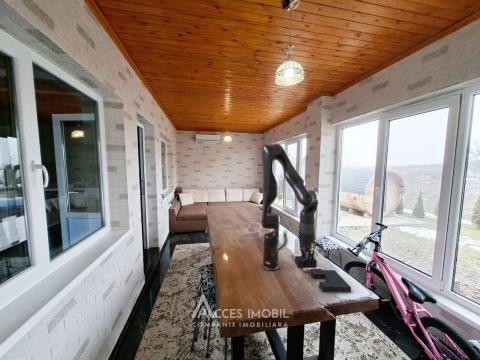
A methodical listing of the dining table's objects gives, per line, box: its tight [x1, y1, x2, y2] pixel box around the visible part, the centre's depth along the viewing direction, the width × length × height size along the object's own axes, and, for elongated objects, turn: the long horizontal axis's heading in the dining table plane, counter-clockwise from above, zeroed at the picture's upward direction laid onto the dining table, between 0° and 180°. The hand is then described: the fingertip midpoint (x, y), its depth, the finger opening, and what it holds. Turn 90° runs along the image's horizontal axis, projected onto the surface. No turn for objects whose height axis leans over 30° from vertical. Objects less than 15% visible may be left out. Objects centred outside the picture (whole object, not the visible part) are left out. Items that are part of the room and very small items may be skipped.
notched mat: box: [310, 269, 352, 293], centre depth 103 cm, size 16×14×2 cm
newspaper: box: [291, 251, 324, 273], centre depth 125 cm, size 23×12×2 cm, turn 4°
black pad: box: [294, 256, 318, 269], centre depth 95 cm, size 5×9×4 cm, turn 91°
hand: (305, 264), depth 95 cm, fingers closed on black pad, 5 cm apart
